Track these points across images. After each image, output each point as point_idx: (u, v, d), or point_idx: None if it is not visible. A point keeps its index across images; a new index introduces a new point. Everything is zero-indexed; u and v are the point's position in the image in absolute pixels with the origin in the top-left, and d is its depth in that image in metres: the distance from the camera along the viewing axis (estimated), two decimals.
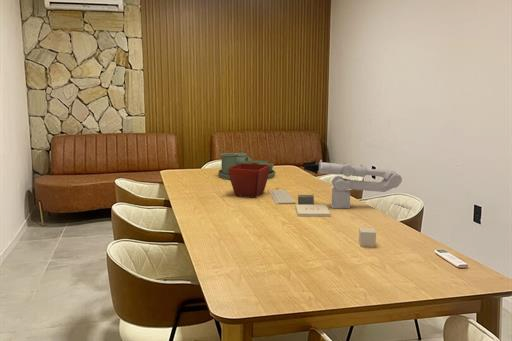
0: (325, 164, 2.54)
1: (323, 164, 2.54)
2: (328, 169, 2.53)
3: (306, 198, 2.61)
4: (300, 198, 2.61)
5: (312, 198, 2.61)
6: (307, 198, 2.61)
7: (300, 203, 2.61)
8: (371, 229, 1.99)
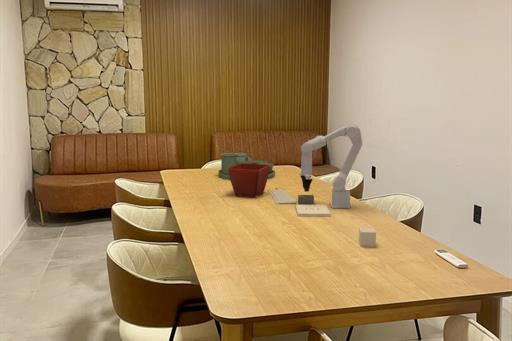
0: (302, 170, 2.59)
1: (302, 172, 2.59)
2: (307, 167, 2.57)
3: (306, 198, 2.61)
4: (300, 198, 2.61)
5: (312, 198, 2.61)
6: (307, 198, 2.61)
7: (300, 203, 2.61)
8: (371, 229, 1.99)
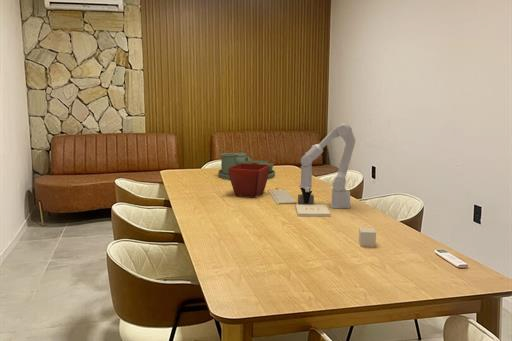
0: (302, 182, 2.60)
1: (302, 184, 2.60)
2: (307, 179, 2.59)
3: None
4: (300, 198, 2.61)
5: (312, 198, 2.61)
6: None
7: (300, 203, 2.61)
8: (371, 229, 1.99)
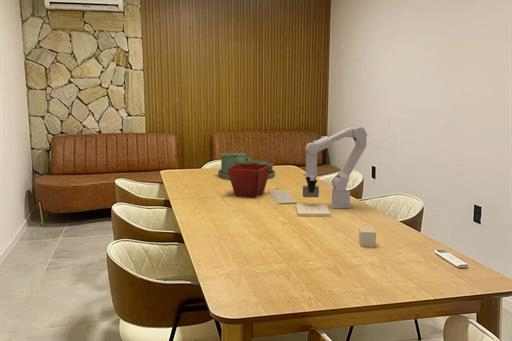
0: (307, 171, 2.54)
1: (307, 173, 2.54)
2: (312, 168, 2.52)
3: None
4: (305, 189, 2.55)
5: (317, 189, 2.55)
6: None
7: (305, 194, 2.55)
8: (371, 229, 1.99)
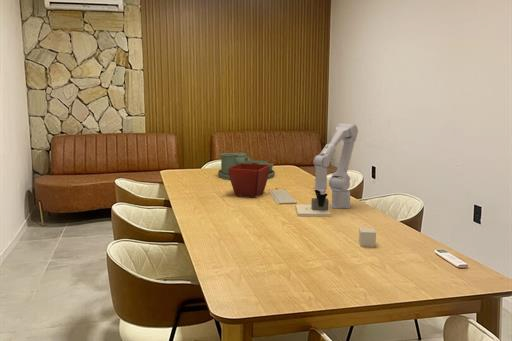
0: (317, 184, 2.45)
1: (317, 186, 2.45)
2: (322, 181, 2.43)
3: None
4: (314, 202, 2.46)
5: (327, 202, 2.45)
6: None
7: (314, 207, 2.46)
8: (371, 229, 1.99)
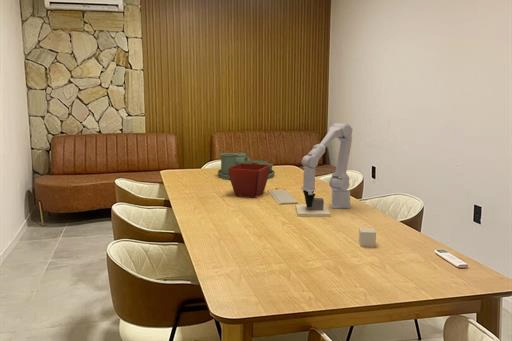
0: (305, 184, 2.45)
1: (305, 186, 2.45)
2: (310, 182, 2.43)
3: (315, 201, 2.46)
4: None
5: (322, 202, 2.46)
6: (316, 201, 2.46)
7: None
8: (371, 229, 1.99)
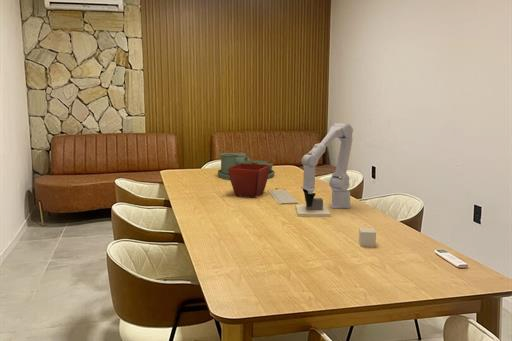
0: (305, 183, 2.45)
1: (305, 185, 2.45)
2: (310, 180, 2.43)
3: (315, 202, 2.46)
4: None
5: (321, 202, 2.46)
6: (316, 202, 2.46)
7: (308, 207, 2.46)
8: (371, 229, 1.99)
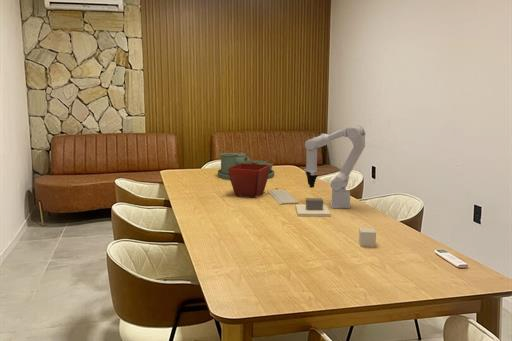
0: (307, 166, 2.62)
1: (307, 168, 2.62)
2: (312, 163, 2.61)
3: (315, 202, 2.46)
4: (308, 202, 2.46)
5: (321, 202, 2.46)
6: (316, 202, 2.46)
7: (308, 207, 2.46)
8: (371, 229, 1.99)
